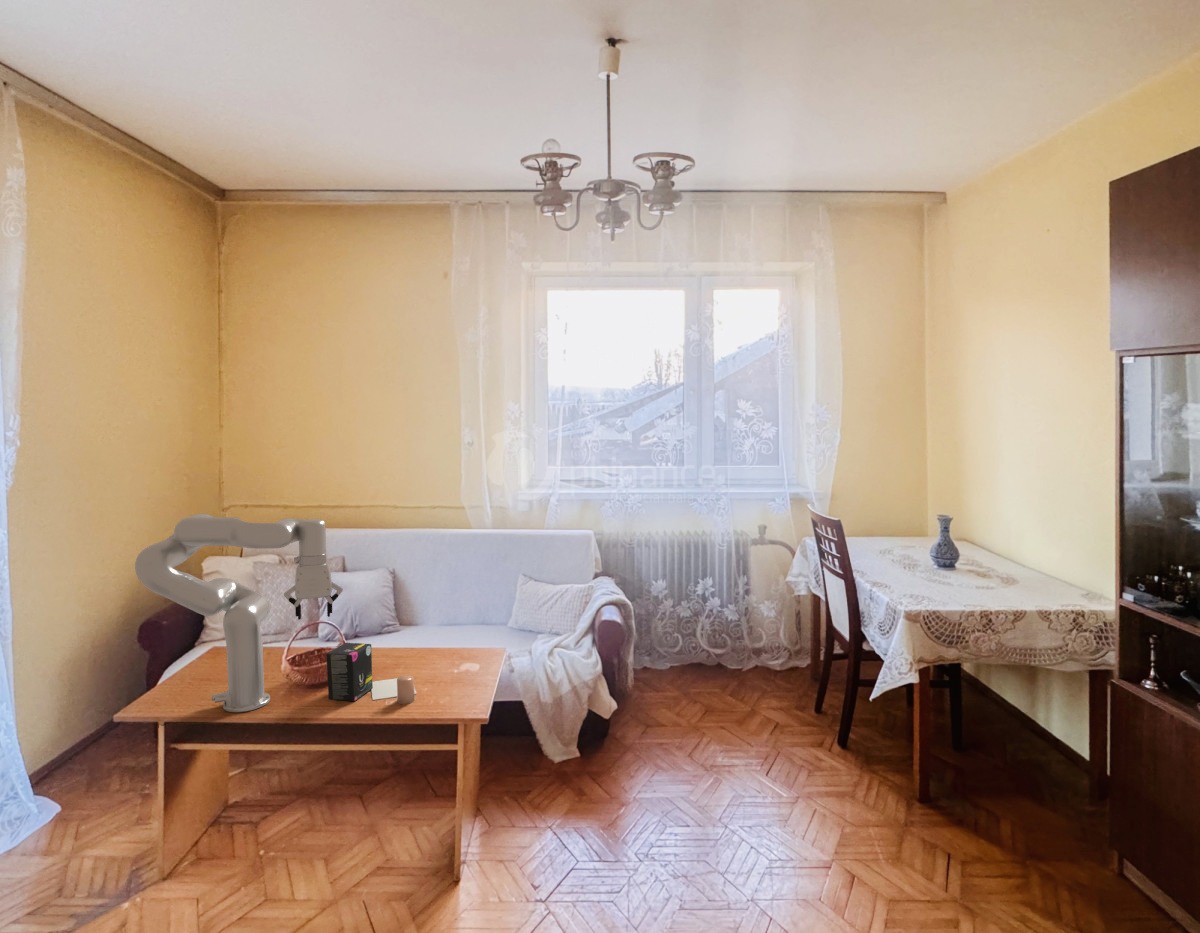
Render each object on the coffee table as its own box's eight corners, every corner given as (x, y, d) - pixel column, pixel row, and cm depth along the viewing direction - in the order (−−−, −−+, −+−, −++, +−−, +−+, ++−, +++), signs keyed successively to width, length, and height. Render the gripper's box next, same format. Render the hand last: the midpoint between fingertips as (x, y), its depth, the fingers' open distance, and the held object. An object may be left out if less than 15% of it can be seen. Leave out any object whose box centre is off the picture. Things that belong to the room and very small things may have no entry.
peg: (398, 705, 198) (397, 682, 197) (396, 698, 202) (396, 676, 202) (415, 702, 199) (414, 680, 199) (413, 696, 204) (413, 674, 204)
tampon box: (354, 702, 199) (352, 654, 199) (327, 700, 201) (325, 653, 200) (374, 687, 210) (372, 642, 209) (348, 685, 212) (346, 641, 211)
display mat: (372, 700, 201) (372, 699, 201) (370, 682, 215) (370, 681, 215) (416, 694, 206) (416, 693, 206) (411, 676, 220) (411, 676, 220)
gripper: (280, 564, 193) (281, 623, 194) (343, 560, 199) (344, 617, 200) (282, 559, 200) (283, 616, 201) (343, 555, 206) (344, 610, 207)
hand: (314, 616), depth 200 cm, fingers open, 7 cm apart
